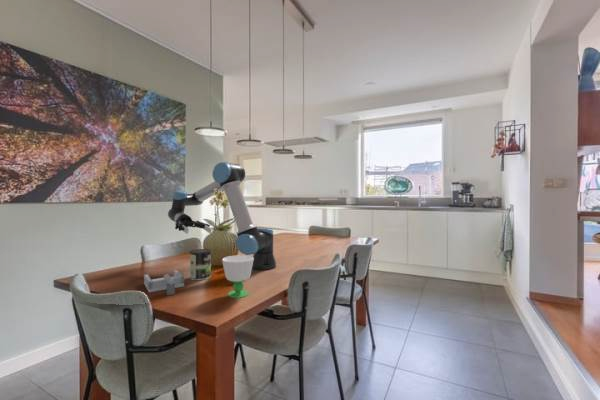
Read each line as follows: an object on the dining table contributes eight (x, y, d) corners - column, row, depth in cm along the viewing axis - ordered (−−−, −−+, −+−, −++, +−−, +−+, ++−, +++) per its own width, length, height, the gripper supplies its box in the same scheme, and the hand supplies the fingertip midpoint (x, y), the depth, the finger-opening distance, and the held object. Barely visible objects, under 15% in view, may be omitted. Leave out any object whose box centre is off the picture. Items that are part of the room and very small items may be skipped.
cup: (224, 301, 121) (224, 263, 120) (219, 291, 133) (219, 256, 133) (257, 297, 126) (257, 260, 126) (249, 287, 139) (249, 254, 138)
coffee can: (214, 275, 158) (214, 249, 158) (204, 281, 148) (204, 253, 148) (197, 274, 160) (196, 248, 160) (186, 279, 150) (185, 252, 150)
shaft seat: (144, 283, 144) (143, 269, 143) (176, 278, 152) (176, 265, 152) (152, 298, 124) (152, 282, 124) (189, 291, 133) (188, 276, 133)
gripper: (201, 226, 187) (218, 236, 172) (160, 226, 169) (175, 238, 154) (203, 214, 186) (220, 224, 171) (163, 213, 168) (178, 224, 153)
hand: (199, 231), depth 163 cm, fingers open, 13 cm apart
